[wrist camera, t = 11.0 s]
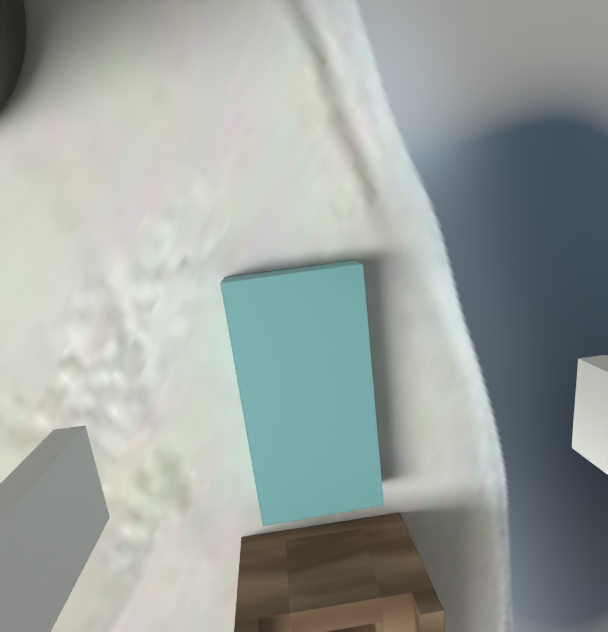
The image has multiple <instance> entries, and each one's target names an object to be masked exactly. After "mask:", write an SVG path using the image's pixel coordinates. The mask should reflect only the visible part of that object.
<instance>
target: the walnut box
mask: <svg viewBox="0 0 608 632" xmlns="http://www.w3.org/2000/svg"><path fill="white" fill-rule="evenodd" d="M234 632H444V610H443V608H442V605H441V603H440V601H439V599H438V597H437V594H436V592H435V590H434V588H433V586H432V583H431V581H430V579H429V577H428V574H427V572H426V570H425V568H424V566H423V563H422V561H421V559H420V557H419V555H418V552H417V550H416V548H415V546H414V544H413V541H412V539H411V537H410V535H409V533H408V530H407V528H406V526H405V524H404V522H403V519H402V517H401V515H400V513H396V514H389V515H383V516H376V517H370V518H364V519H357V520H351V521H344V522H338V523H332V524H325V525H319V526H312V527H306V528H300V529H293V530H287V531H280V532H274V533H267V534H261V535H255V536H248V537H242V538H241V551H240V564H239V577H238V589H237V602H236V615H235V628H234Z"/></svg>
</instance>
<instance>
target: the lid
mask: <svg viewBox="0 0 608 632" xmlns="http://www.w3.org/2000/svg"><path fill="white" fill-rule="evenodd" d="M220 284H221V289H222V295H223V301H224V306H225V312H226V318H227V323H228V329H229V335H230V341H231V346H232V352H233V358H234V363H235V369H236V375H237V380H238V386H239V392H240V398H241V403H242V409H243V415H244V420H245V426H246V432H247V438H248V443H249V449H250V455H251V460H252V466H253V472H254V477H255V483H256V489H257V495H258V500H259V506H260V512H261V517H262V523H263V526H267V525H272V524H278V523H284V522H290V521H295V520H301V519H307V518H313V517H319V516H324V515H330V514H336V513H342V512H347V511H353V510H359V509H365V508H370V507H376V506H382V505H384V503H383V491H382V479H381V468H380V456H379V444H378V433H377V421H376V410H375V398H374V386H373V375H372V363H371V352H370V340H369V328H368V317H367V305H366V293H365V282H364V270H363V264H362V263H360V262H358V261H355V260H351V261H344V262H336V263H329V264H321V265H314V266H306V267H299V268H291V269H284V270H276V271H269V272H261V273H254V274H246V275H239V276H232V277H224V279H223V280H222V282H221V283H220Z"/></svg>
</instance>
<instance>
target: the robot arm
mask: <svg viewBox="0 0 608 632" xmlns="http://www.w3.org/2000/svg"><path fill="white" fill-rule="evenodd" d="M24 49H25V15H24V7H23V1H22V0H0V109H1V108H2V107H3V105H4V104H5V102H6V101H7V99H8V98H9V96H10V94H11V92H12V90H13V88H14V86H15V84H16V81H17V79H18V76H19V72H20V69H21V65H22V61H23V55H24ZM572 448H573V449H574V450H576V451H577V452H578V453H580V454H581V455H582V456H584V457H585V458H586V459H588V460H589V461H590V462H592V463H593V464H594V465H596V466H597V467H598V468H600V469H601V470H602V471H604V472H605V473H606V474H607V475H608V356H606V355H602V356H594V357H587V358H580V359H578V370H577V384H576V397H575V411H574V424H573V438H572ZM109 518H110V517H109V513H108V509H107V506H106V502H105V498H104V494H103V491H102V487H101V483H100V479H99V476H98V472H97V468H96V464H95V460H94V457H93V453H92V449H91V445H90V442H89V438H88V434H87V430H86V426H78V427H71V428H64V429H56V430H53V431H52V432H51V433H50V434H49V435H48V436H47V437H46V438H45V439H44V440H43V441H42V442H41V443H40V444H39V445H38V446H37V447H36V448H35V449H34V450H33V451H32V452H31V453H30V454H29V455H28V456H27V457H26V458H25V459H24V460H23V461H22V462H21V463H20V464H19V465H18V466H17V468H16V469H15V470H14V471H13V472H12V473H11V474H10V475H9V476H8V477H7V478H6V479H5V480H4V481H3V482H2V483H1V484H0V632H51V630H52V628H53V626H54V624H55V622H56V620H57V618H58V616H59V614H60V612H61V610H62V608H63V606H64V605H65V603H66V601H67V599H68V597H69V595H70V593H71V591H72V589H73V587H74V585H75V583H76V581H77V579H78V577H79V576H80V574H81V572H82V570H83V568H84V566H85V564H86V562H87V560H88V558H89V556H90V554H91V552H92V550H93V548H94V547H95V545H96V543H97V541H98V539H99V537H100V535H101V533H102V531H103V529H104V527H105V525H106V523H107V521H108V520H109Z"/></svg>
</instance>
